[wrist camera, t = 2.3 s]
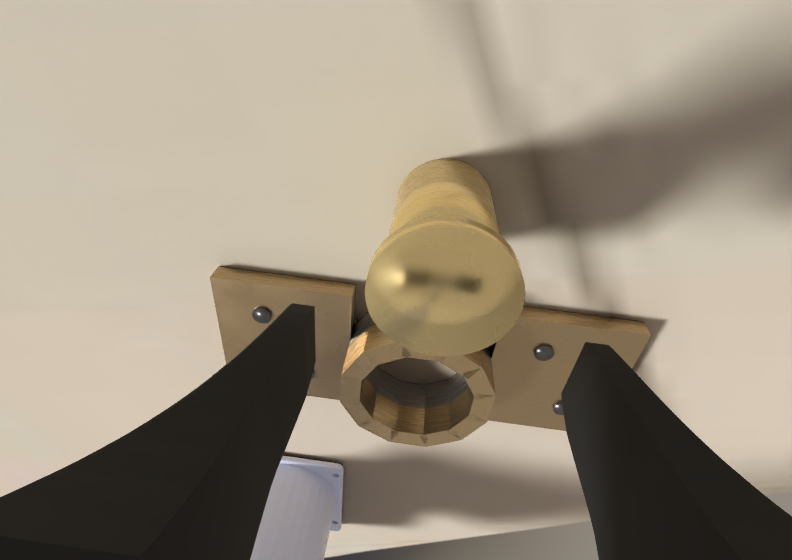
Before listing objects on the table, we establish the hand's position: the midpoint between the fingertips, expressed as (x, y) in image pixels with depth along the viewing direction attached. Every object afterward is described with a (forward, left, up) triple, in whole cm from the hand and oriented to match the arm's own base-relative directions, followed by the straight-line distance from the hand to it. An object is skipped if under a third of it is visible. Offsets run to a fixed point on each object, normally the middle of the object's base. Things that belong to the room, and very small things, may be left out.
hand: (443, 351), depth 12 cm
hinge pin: (0, 0, -9) cm, 9 cm away
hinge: (-9, 0, -9) cm, 13 cm away
